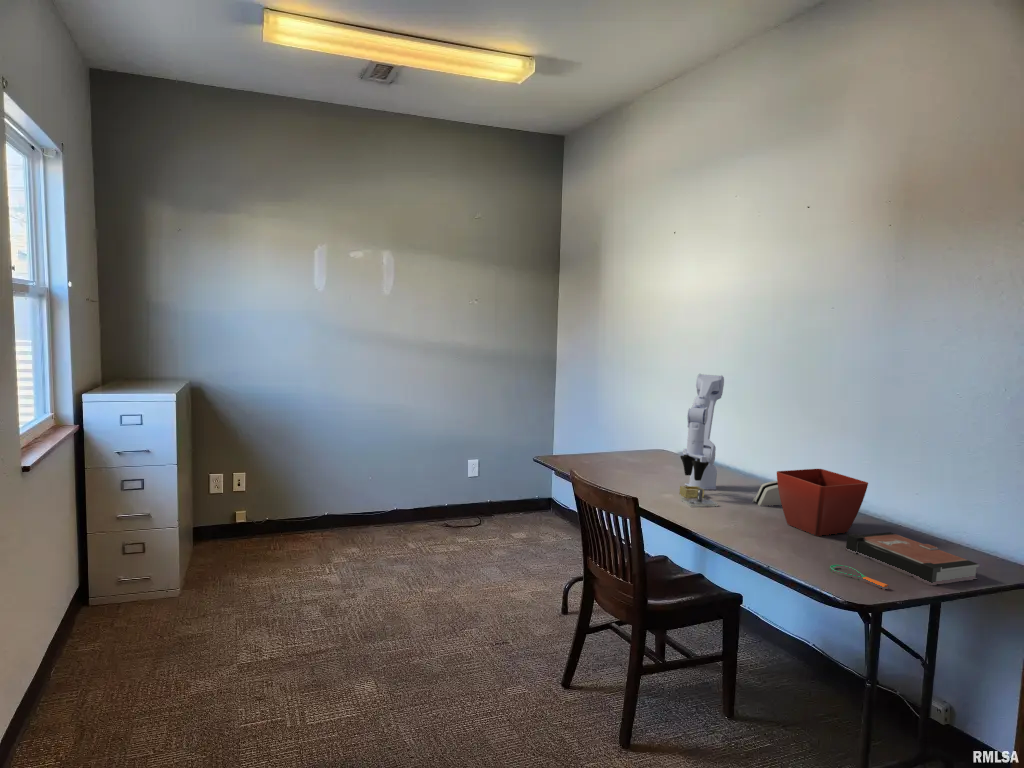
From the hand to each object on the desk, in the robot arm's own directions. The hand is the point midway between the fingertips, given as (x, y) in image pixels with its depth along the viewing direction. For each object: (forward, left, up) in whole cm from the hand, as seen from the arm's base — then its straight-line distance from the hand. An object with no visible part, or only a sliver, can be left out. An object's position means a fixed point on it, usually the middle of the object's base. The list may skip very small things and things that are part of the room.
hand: (692, 477), depth 242 cm
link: (0, 0, -7) cm, 7 cm away
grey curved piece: (-27, +12, -7) cm, 31 cm away
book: (-30, +69, -8) cm, 75 cm away
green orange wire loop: (-7, +77, -8) cm, 78 cm away
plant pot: (-23, +39, -7) cm, 46 cm away
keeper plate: (+2, +10, -7) cm, 12 cm away
